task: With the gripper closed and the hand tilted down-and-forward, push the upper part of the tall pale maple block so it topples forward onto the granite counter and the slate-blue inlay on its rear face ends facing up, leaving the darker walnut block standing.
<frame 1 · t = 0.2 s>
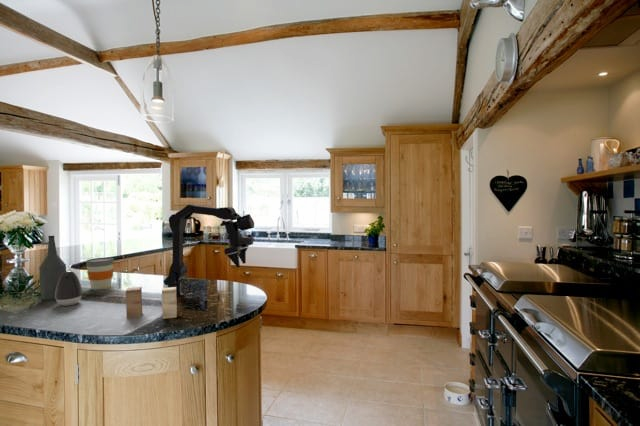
hand: (241, 265, 168), 15 cm above the counter, tool pointing down, fingers open, 9 cm apart
reusable coffee cup: (101, 287, 191), on the counter
maple block: (170, 315, 144), on the counter
aroma diffuser: (69, 304, 161), on the counter
walnut block: (134, 315, 145), on the counter
bottle: (54, 297, 173), on the counter
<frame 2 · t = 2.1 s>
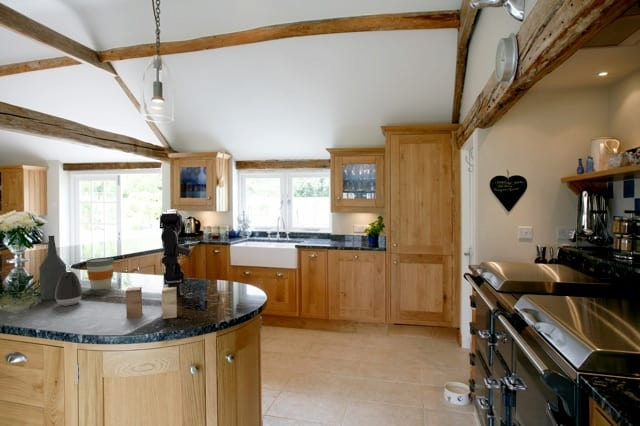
hand: (171, 275, 158), 13 cm above the counter, tool pointing down, fingers closed
nothing on the counter moved.
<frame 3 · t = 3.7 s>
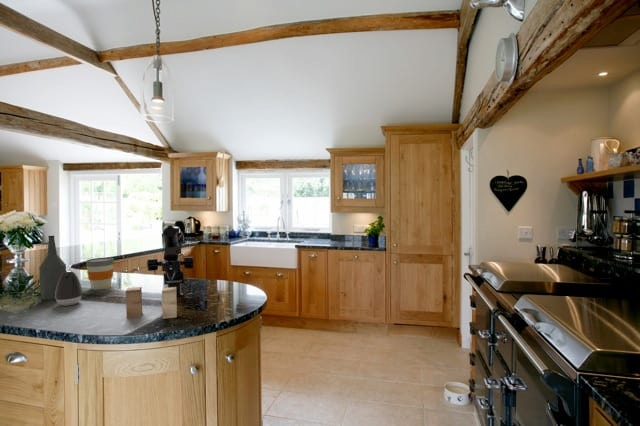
hand: (170, 280, 152), 12 cm above the counter, tool tilted 45°, fingers closed
nothing on the counter moved.
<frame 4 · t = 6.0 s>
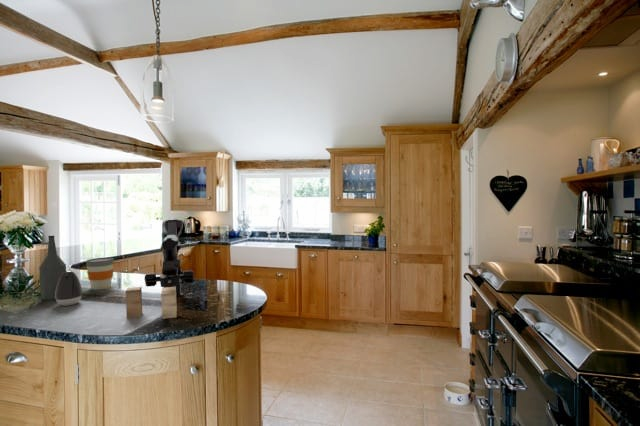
hand: (169, 296, 144), 8 cm above the counter, tool tilted 45°, fingers closed, pressing on maple block
maple block: (170, 314, 144), point 1 cm above the counter, tilted 16°, touching gripper
everything else where it was.
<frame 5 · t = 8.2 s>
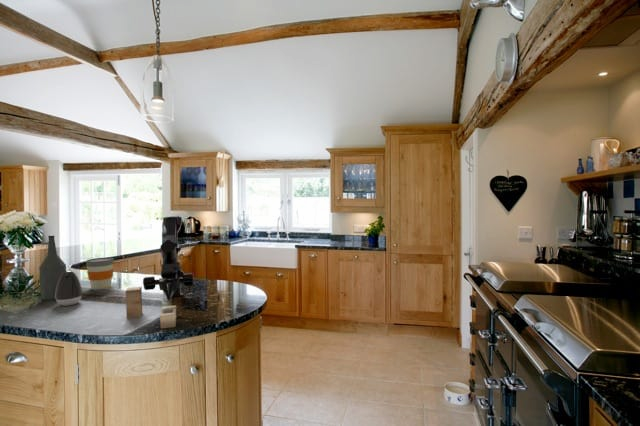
hand: (168, 300, 140), 8 cm above the counter, tool tilted 45°, fingers closed
maple block: (169, 312, 141), point 2 cm above the counter, tilted 90°
everything else where it was.
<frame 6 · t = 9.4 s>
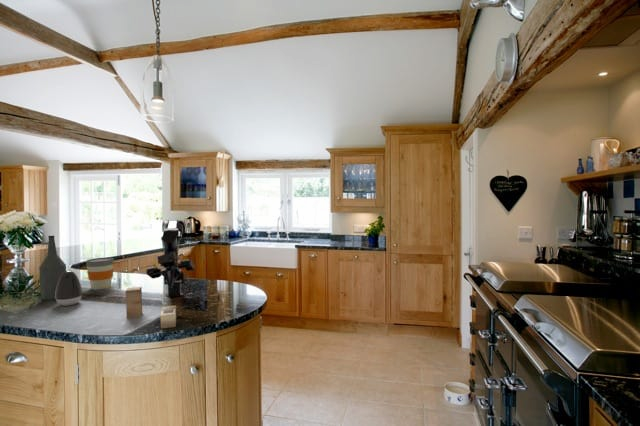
hand: (170, 287, 150), 10 cm above the counter, tool tilted 35°, fingers closed
nothing on the counter moved.
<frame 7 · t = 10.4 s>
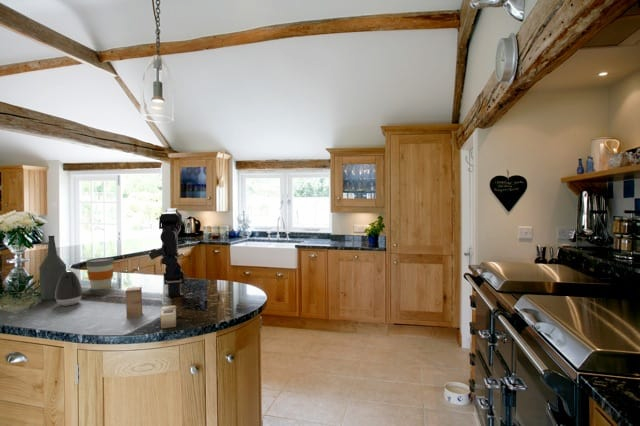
hand: (171, 276, 156), 13 cm above the counter, tool pointing down, fingers closed
nothing on the counter moved.
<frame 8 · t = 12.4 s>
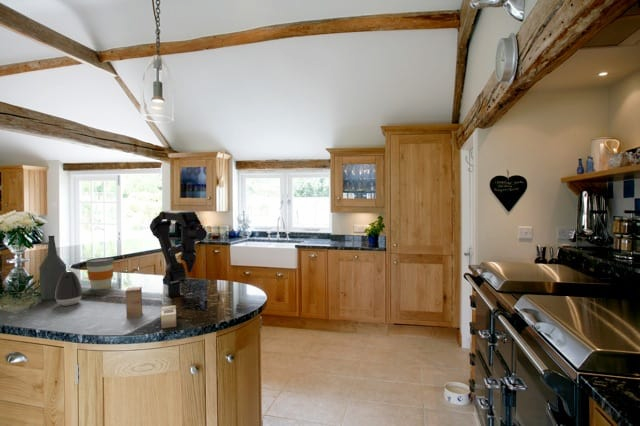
hand: (189, 272, 164), 13 cm above the counter, tool pointing down, fingers closed
nothing on the counter moved.
at the end: maple block tilted 90°; maple block inside the target area (3.9 cm from its centre), point 2.3 cm above the counter; walnut block tilted 0° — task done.
